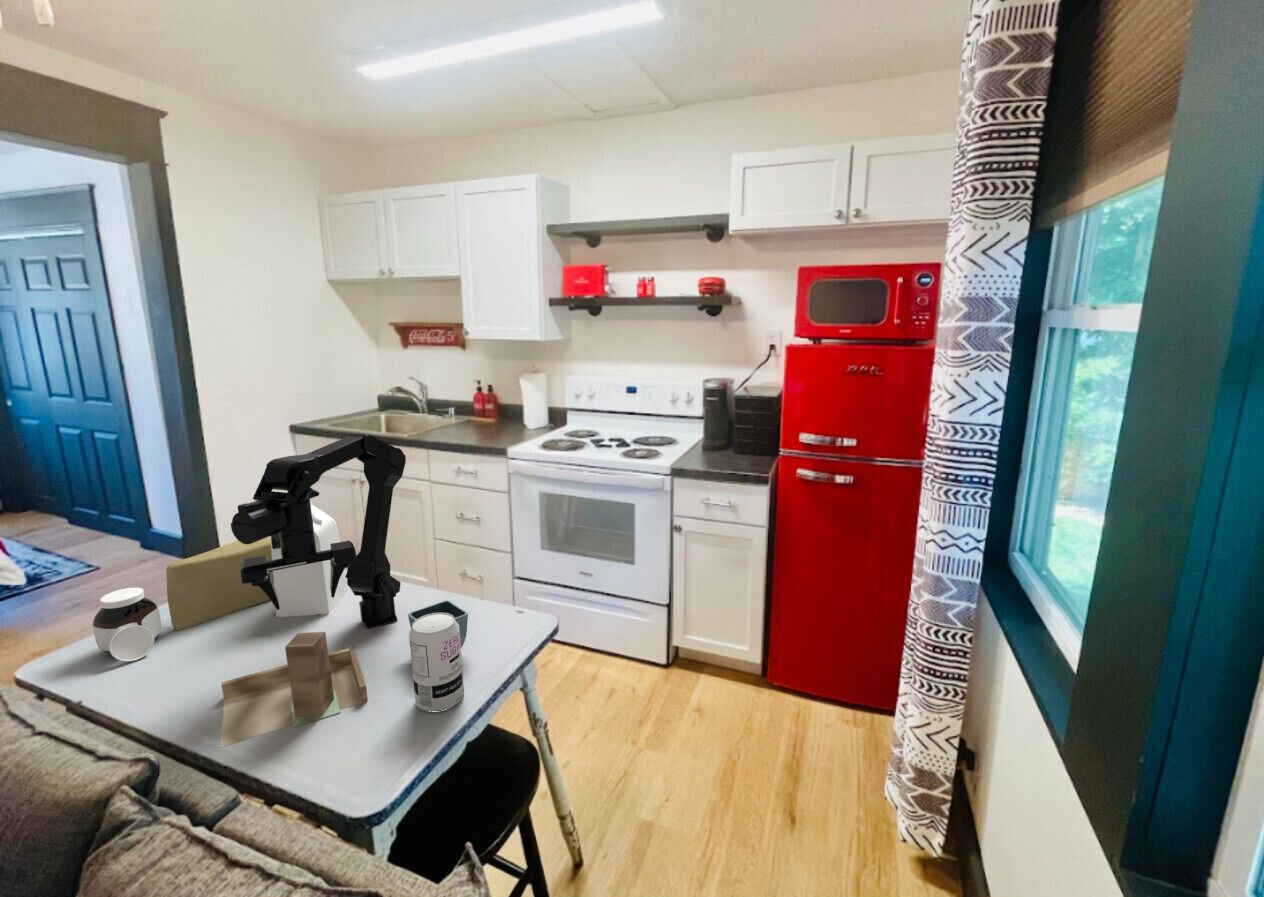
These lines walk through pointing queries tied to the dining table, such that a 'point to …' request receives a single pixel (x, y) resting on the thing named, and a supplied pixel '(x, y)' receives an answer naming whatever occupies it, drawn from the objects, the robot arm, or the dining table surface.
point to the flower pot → (444, 607)
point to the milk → (310, 576)
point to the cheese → (213, 583)
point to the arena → (284, 698)
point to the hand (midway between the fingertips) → (306, 602)
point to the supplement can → (436, 662)
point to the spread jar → (126, 624)
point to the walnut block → (309, 674)
